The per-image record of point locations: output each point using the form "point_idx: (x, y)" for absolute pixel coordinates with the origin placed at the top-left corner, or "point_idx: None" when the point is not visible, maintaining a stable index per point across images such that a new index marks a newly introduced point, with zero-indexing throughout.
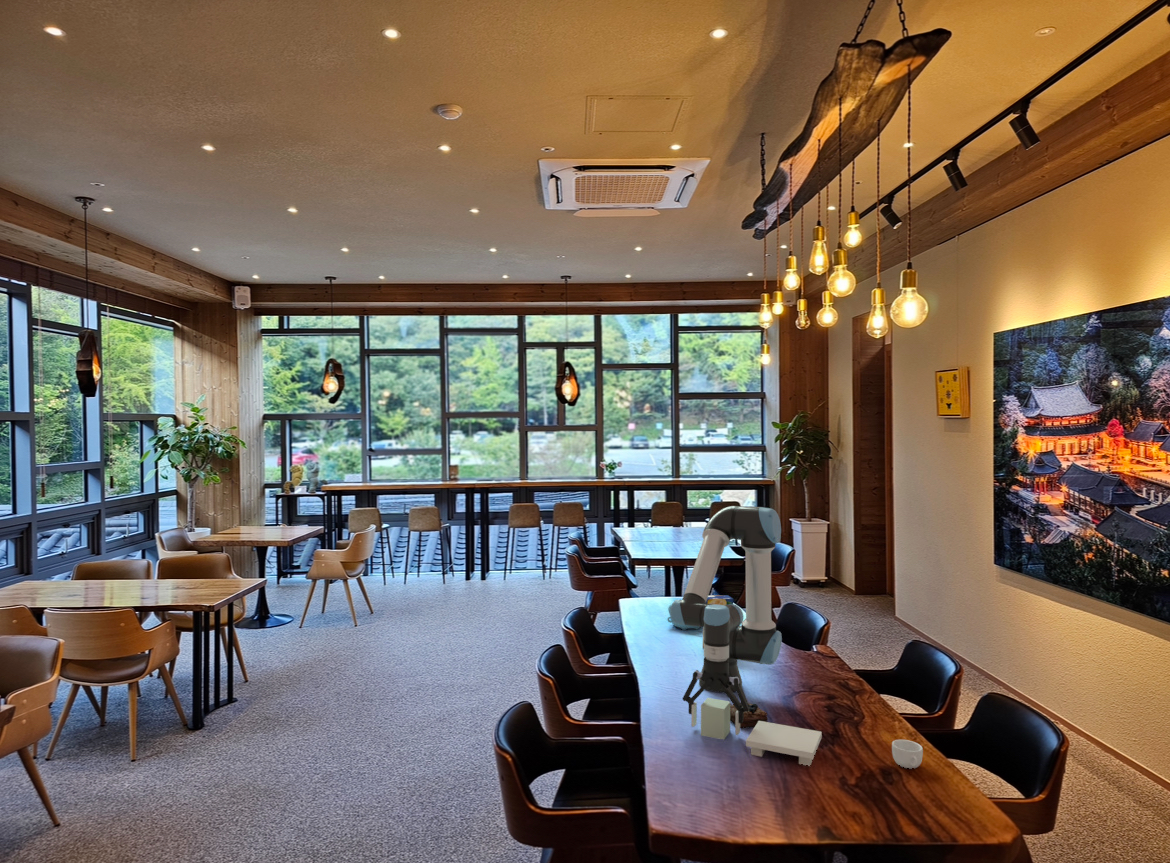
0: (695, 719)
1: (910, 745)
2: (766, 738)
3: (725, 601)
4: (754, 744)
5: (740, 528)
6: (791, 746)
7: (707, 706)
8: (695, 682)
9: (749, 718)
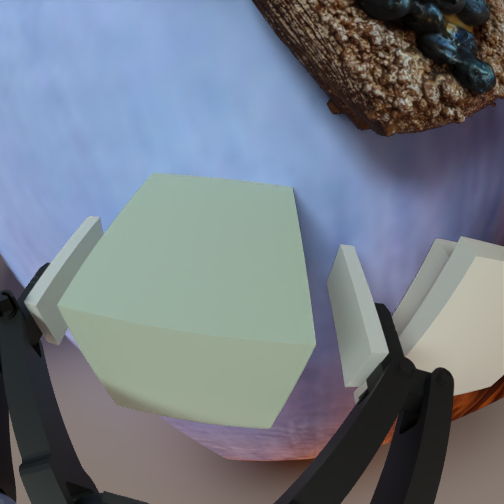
0: (89, 252)
1: None
2: None
3: None
4: None
5: None
6: (467, 386)
7: (156, 412)
8: (7, 471)
9: (435, 123)
